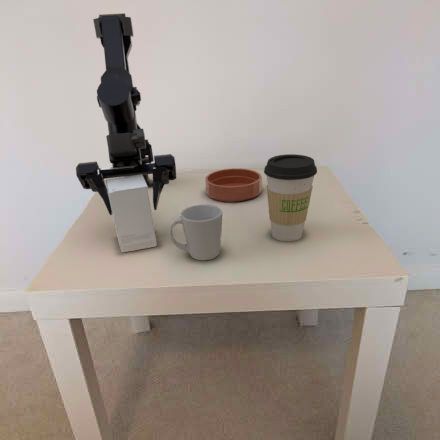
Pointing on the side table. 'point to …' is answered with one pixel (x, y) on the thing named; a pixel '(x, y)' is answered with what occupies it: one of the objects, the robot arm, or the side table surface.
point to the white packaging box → (131, 212)
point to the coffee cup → (289, 194)
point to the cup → (200, 231)
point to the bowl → (233, 184)
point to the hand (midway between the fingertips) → (132, 211)
